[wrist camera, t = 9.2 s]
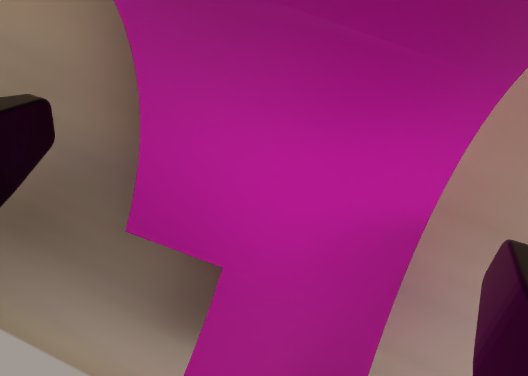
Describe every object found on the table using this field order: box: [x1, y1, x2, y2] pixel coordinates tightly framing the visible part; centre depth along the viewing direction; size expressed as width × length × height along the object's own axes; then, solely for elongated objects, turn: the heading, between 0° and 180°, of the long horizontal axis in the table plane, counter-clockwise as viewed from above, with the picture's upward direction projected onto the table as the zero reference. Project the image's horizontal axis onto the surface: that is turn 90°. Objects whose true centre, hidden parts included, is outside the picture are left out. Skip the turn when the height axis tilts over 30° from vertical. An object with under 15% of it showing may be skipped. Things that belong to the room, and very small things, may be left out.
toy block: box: [114, 0, 528, 376], centre depth 9 cm, size 15×6×8 cm, turn 170°
